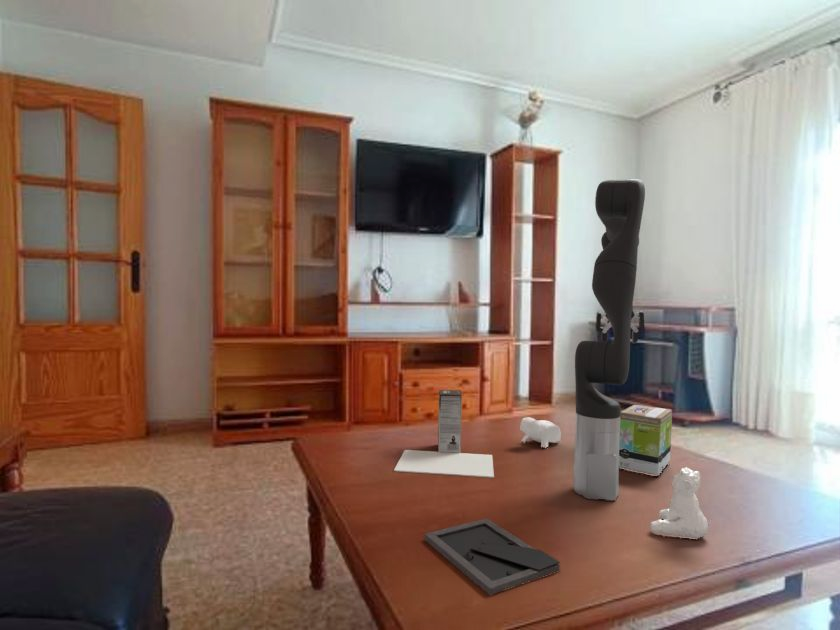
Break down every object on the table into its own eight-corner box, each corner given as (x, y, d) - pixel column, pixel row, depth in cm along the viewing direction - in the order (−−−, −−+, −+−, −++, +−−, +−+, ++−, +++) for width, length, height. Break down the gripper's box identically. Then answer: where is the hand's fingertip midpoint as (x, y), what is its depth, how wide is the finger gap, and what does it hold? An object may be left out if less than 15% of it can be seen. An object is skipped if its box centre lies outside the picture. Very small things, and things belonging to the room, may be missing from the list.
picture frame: (559, 574, 73) (486, 526, 88) (559, 561, 73) (486, 515, 88) (489, 599, 66) (424, 542, 82) (490, 585, 66) (424, 531, 82)
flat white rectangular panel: (493, 477, 113) (493, 476, 113) (393, 471, 116) (393, 470, 116) (492, 456, 129) (492, 454, 129) (404, 450, 132) (404, 449, 132)
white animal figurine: (537, 448, 148) (508, 437, 139) (543, 421, 150) (516, 409, 141) (560, 455, 142) (532, 444, 133) (567, 427, 144) (540, 414, 135)
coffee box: (437, 444, 140) (438, 389, 140) (459, 444, 139) (460, 389, 140) (438, 452, 130) (439, 393, 131) (461, 453, 130) (462, 394, 131)
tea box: (659, 479, 114) (661, 417, 114) (616, 469, 121) (617, 411, 120) (671, 463, 126) (672, 408, 126) (630, 455, 133) (632, 402, 132)
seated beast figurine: (661, 516, 93) (662, 455, 93) (712, 530, 87) (714, 465, 87) (648, 534, 86) (650, 467, 85) (703, 550, 80) (705, 479, 80)
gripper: (596, 297, 148) (597, 347, 152) (646, 295, 144) (645, 346, 148) (594, 292, 155) (595, 339, 159) (642, 290, 151) (641, 339, 155)
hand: (619, 343), depth 154 cm, fingers open, 8 cm apart
